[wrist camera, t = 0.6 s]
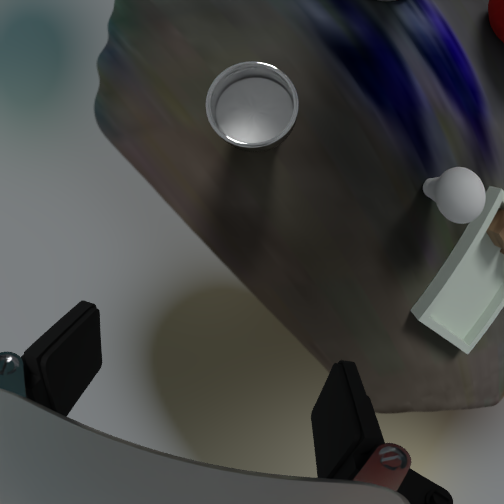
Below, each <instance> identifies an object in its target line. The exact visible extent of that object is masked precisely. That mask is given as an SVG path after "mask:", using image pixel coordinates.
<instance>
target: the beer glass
mask: <svg viewBox="0 0 504 504" xmlns="http://www.w3.org/2000/svg"><path fill="white" fill-rule="evenodd" d="M298 108H299V101H298V95H297V91H296V89H295V86H294V85H293V83H292V81H291V80H290V79H289V77H288V76H287V75H286V74H285V73H284V72H282V71H281V70H280V69H278V68H276V67H274V66H272V65H270V64H267V63H263V62H256V61H250V62H242V63H238V64H235V65H233V66H231V67H229V68H227V69H226V70H224V71H223V72H221V73H220V74H219V75H218V76H217V77H216V79H215V80H214V81H213V83H212V84H211V86H210V88H209V90H208V93H207V98H206V113H207V117H208V120H209V122H210V124H211V126H212V128H213V129H214V130H215V132H216V133H217V134H218V135H219V136H220V137H221V138H222V139H223V140H224V141H225V142H227V143H228V144H230V145H231V146H233V147H235V148H237V149H239V150H242V151H246V152H263V151H267V150H270V149H273V148H275V147H277V146H278V145H280V144H281V143H282V142H284V141H285V140H286V139H287V137H288V136H289V135H290V134H291V132H292V130H293V128H294V126H295V123H296V120H297V114H298Z"/></svg>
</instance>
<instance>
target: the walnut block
mask: <svg viewBox="0 0 504 504" xmlns="http://www.w3.org/2000/svg"><path fill="white" fill-rule="evenodd" d="M486 233H487V234H488V236H489V237H490V239H491V240H492V242H493V244H494V245H495V246H497V247H499V248H501V249H503V250H504V209H500V208H498V210H497V212H496V214H495V216H494V218H493V220H492V222H491V223H490V225H489V227H488V229H487V231H486Z"/></svg>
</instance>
